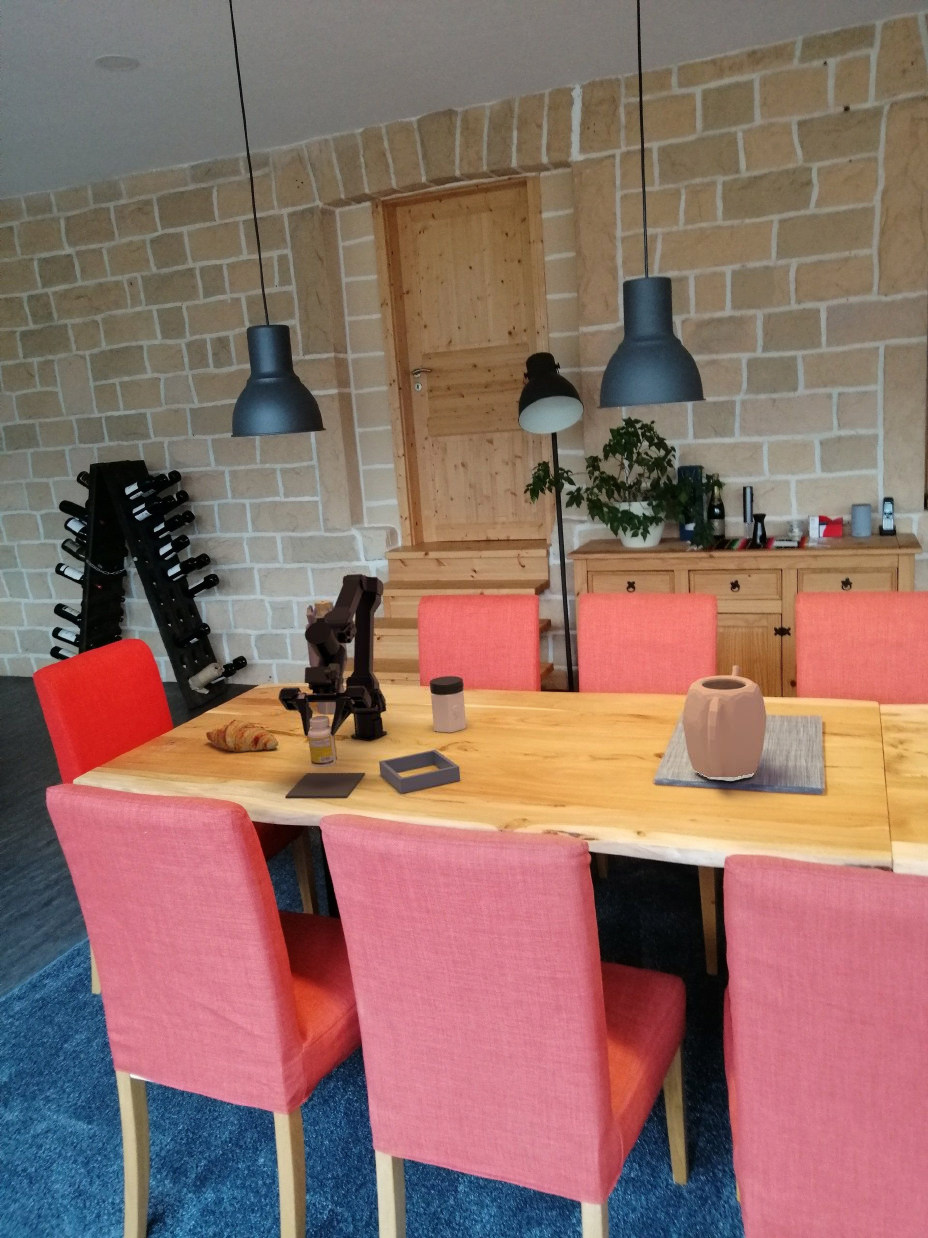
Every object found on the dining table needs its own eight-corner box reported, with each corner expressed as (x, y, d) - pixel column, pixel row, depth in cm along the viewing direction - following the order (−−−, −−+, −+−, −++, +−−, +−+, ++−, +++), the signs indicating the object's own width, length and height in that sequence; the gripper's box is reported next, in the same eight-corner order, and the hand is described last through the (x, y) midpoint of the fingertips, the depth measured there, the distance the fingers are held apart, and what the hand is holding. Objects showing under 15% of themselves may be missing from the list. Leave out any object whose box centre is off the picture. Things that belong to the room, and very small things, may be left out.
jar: (443, 735, 223) (439, 687, 220) (425, 728, 229) (421, 681, 227) (474, 727, 227) (470, 679, 225) (456, 720, 234) (452, 674, 232)
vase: (350, 713, 247) (339, 601, 242) (311, 716, 247) (300, 604, 241) (354, 702, 257) (343, 595, 252) (316, 705, 257) (305, 598, 252)
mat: (307, 775, 202) (306, 773, 202) (364, 774, 200) (364, 772, 200) (285, 798, 189) (285, 795, 189) (346, 798, 187) (346, 795, 187)
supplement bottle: (321, 757, 197) (317, 713, 196) (342, 760, 195) (338, 715, 193) (305, 766, 193) (300, 721, 191) (326, 769, 190) (322, 723, 188)
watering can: (776, 752, 195) (775, 665, 192) (756, 799, 172) (755, 701, 168) (701, 746, 202) (699, 662, 199) (672, 791, 179) (669, 696, 175)
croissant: (286, 760, 224) (293, 727, 226) (262, 753, 215) (269, 719, 217) (216, 752, 233) (222, 720, 235) (190, 745, 224) (197, 712, 226)
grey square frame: (380, 774, 199) (379, 761, 198) (436, 762, 204) (435, 749, 203) (401, 793, 187) (400, 779, 187) (460, 780, 192) (459, 766, 192)
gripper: (276, 650, 195) (262, 717, 186) (362, 648, 191) (351, 716, 183) (293, 677, 204) (280, 742, 195) (375, 675, 200) (366, 741, 192)
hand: (318, 734), depth 191 cm, fingers closed on supplement bottle, 5 cm apart
